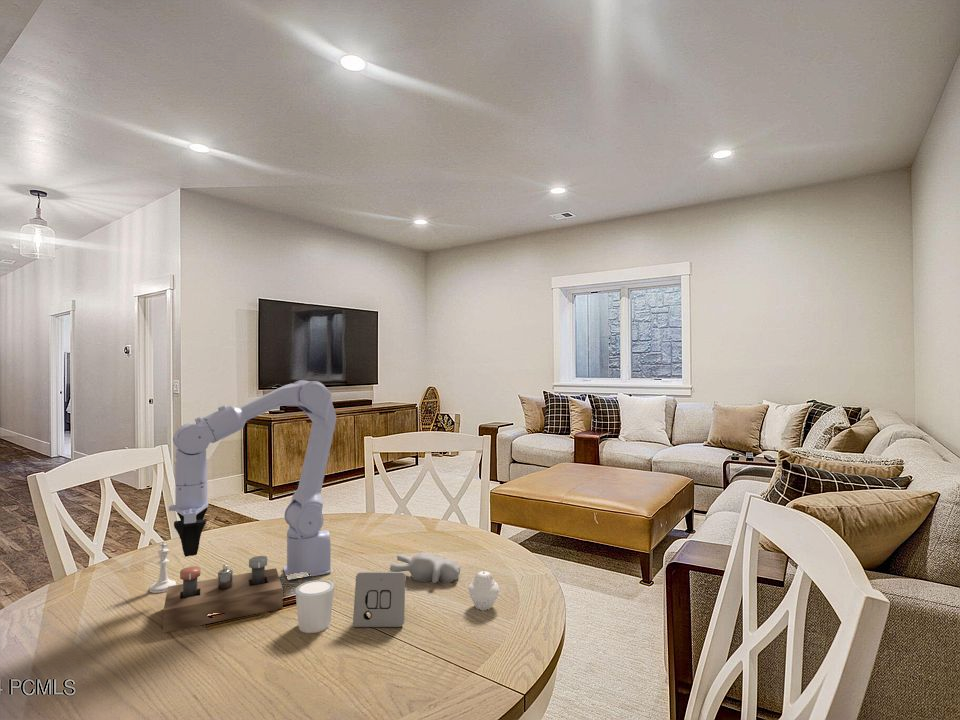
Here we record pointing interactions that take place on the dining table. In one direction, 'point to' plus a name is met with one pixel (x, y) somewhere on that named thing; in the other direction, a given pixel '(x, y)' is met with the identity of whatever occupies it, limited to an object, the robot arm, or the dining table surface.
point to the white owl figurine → (483, 590)
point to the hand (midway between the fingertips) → (191, 549)
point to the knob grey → (258, 569)
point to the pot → (225, 578)
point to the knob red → (190, 581)
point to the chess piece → (162, 572)
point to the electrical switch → (379, 599)
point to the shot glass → (314, 605)
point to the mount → (221, 601)
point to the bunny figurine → (428, 567)
